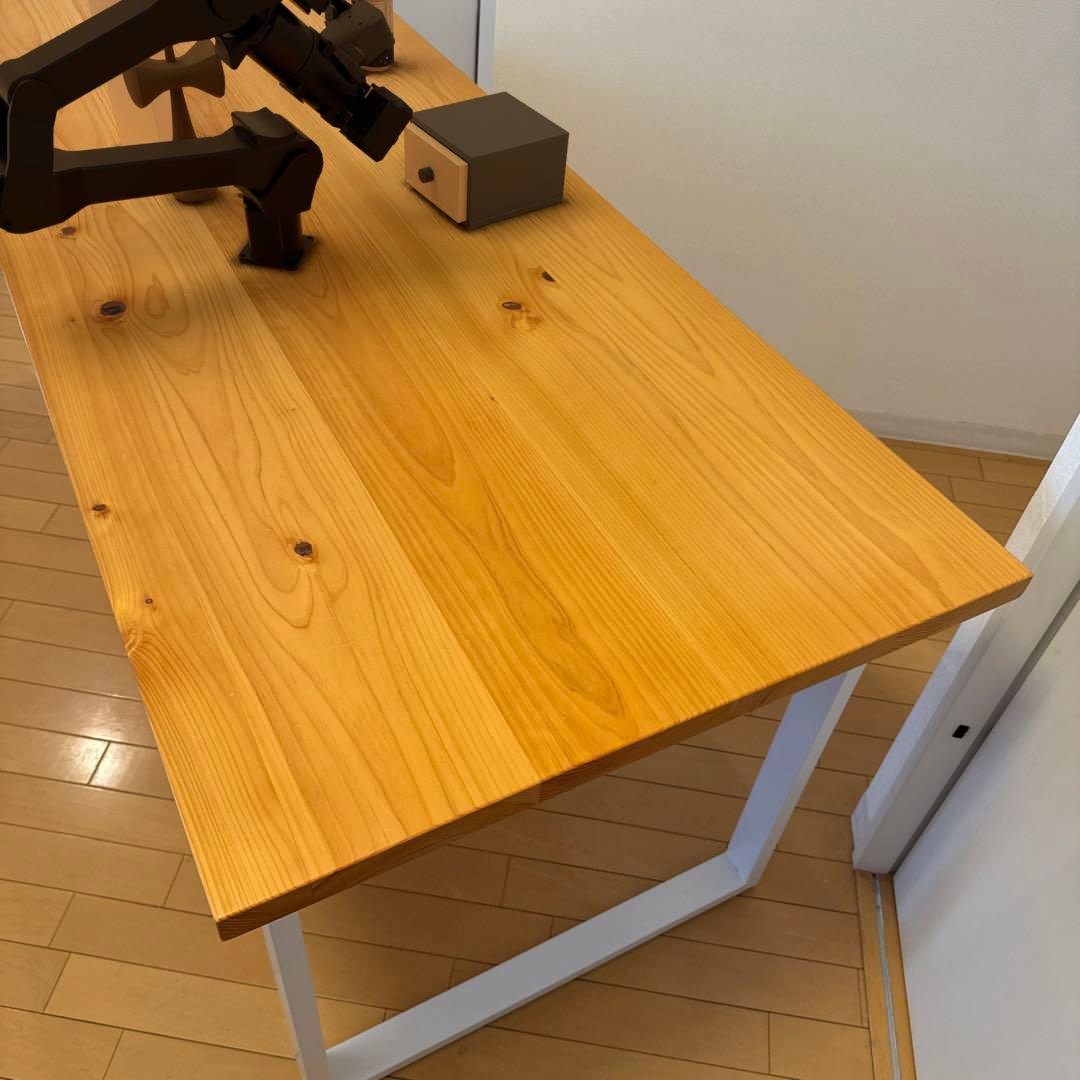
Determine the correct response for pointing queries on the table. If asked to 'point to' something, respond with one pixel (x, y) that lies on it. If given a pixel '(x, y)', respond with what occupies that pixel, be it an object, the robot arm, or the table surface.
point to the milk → (128, 117)
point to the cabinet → (501, 154)
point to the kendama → (178, 90)
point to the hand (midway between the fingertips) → (394, 140)
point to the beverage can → (386, 58)
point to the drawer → (436, 172)
